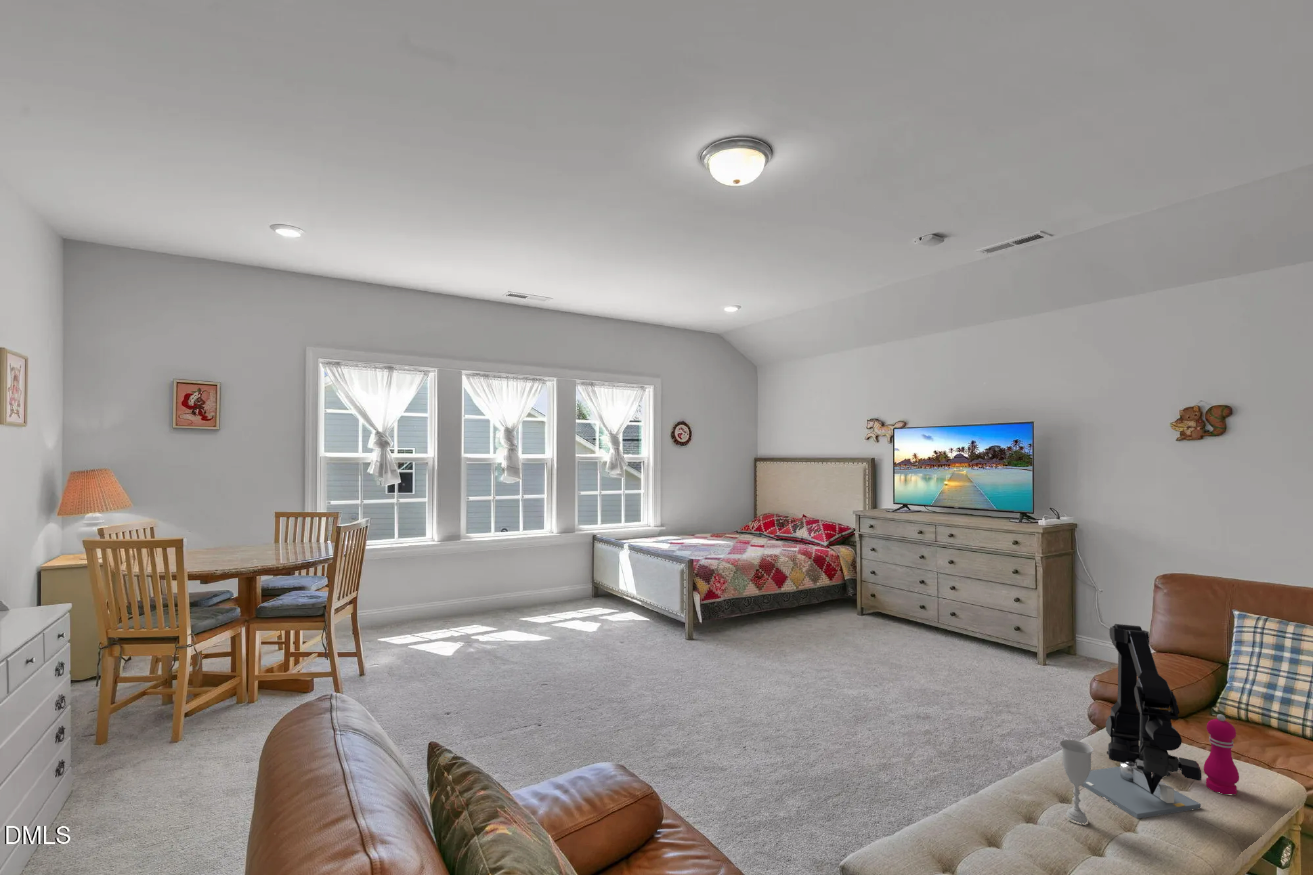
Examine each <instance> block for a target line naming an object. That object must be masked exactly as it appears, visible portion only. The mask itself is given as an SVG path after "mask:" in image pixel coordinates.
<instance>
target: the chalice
mask: <svg viewBox="0 0 1313 875" xmlns="http://www.w3.org/2000/svg"><path fill="white" fill-rule="evenodd" d="M1059 745H1060V746H1061V748H1062V749H1061V751H1062V754H1061V756H1062V757H1061V758H1062V766H1063V769H1064V771H1065V774H1066V776H1067V778H1068V781H1069V782H1070V783H1071V784H1072V785H1073V786H1074V787H1073V790H1072V792H1073V797H1072V799H1071V800H1072V801H1073V804H1074V805H1073V806H1070V807H1069V808H1068V809H1067V811H1066V813H1065V814H1066V815H1067V817H1069V818H1071V820H1074V821H1076V822H1079V823H1081V824H1082V823H1084V824H1085V823H1086V822H1087V820H1088V818H1087V815H1086V813H1085V811H1084V810H1082V809H1081V808H1080V802H1081V801H1082V800H1081V799H1080V797H1079V796H1080V795H1081V791H1080V789H1079V788H1080V786H1082V785H1083V784H1084V782H1085V781H1086V779H1087V777H1088V775H1089V773H1090V770H1092V769H1091V768H1092V764H1091V763H1092V753H1093V752H1094V748H1093V747H1092V746H1091V745H1090V744H1088V743H1086V742H1083V741H1080V740H1076V739H1075V740H1074V739H1065V740H1064V739H1063V740H1061V741H1060V742H1059Z"/></svg>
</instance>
